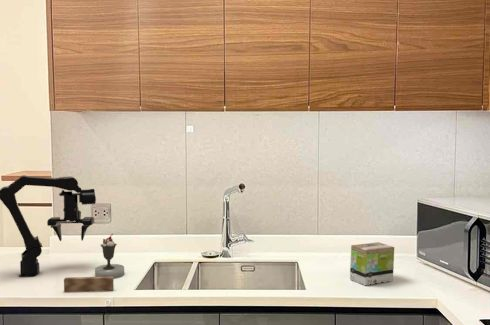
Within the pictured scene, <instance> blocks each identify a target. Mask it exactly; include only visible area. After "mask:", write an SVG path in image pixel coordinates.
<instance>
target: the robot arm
mask: <svg viewBox="0 0 490 325" xmlns="http://www.w3.org/2000/svg"><path fill="white" fill-rule="evenodd" d="M25 186H35V187H47V188H48V187H51V188H56V189H57V188H58V189H62V190H61V192H59V193H58V195H59V196H60V197H63V218H61V217H59V216H53V217H50V218H48V219H47V220H46V221H47V227H50V228H51V229H53V230H54V232H55V234H56V235H57V238H58V240H59V242H62V229H61V228H62V224H82V225H81V228H80V229H81V231H80V232H81V234H80V237H81V242H82V241H84V238H85V235H86V232H87V230H88V228H89V227H90V226H92V225H94V224H95V218H94V216H84V217H83V218H82V211H81V210H79V205H78V204H80V203H81V205H85V206H86V205H95V204H96V202H97V197H96V192H95V189H94V188H89V189H88V188H87V189H82V188H81V187H80V186H79V182H78V180H77V179H76V178H75V177H74V176H62V177H46V176H28V175H24V174H23V175H20V176H19V178H17V179H16V180H15V181H13V182H12V183H10V184H9V185H8V186H5V185H4V186H3V187H1V188H0V201H1V202H2V204H3V205H4V206H5V207H6V208H7V210H8V212H9V213H10V214H11V218H12V219H13V221H14V223H15V225H16V227H17V229H18V231H19V233H20V235H21V237H22V239H23V240H22V241H23V243H24V247H25V250H24V251H23V252H22V253H21V256H20V257H21V260H20V262H19V263H20V265H19V266H20V268H19V269H20V274H19V275H18V277H35V276H37V275H38V274H39V273H40V262H39V259H38V257H40V256H41V254H42V252H43V250H42V248H43V244H42V242H41V241H40V239H39V236H38V235H36V236H34V234H32V231H31V230H30V227H29V225H28V224H27V222H26V219H25V218H24V216H23V215H24V214H23V213H22V212H21V210H20V209H21V208H20V207H19V206H18V205H19V204H18V201H17V198H16V194H17V193H18V192H20V191H21V189H24V187H25ZM73 191H74V192H75V193H74V192H73Z"/></svg>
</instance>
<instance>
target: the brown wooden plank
mask: <svg viewBox="0 0 490 325" xmlns="http://www.w3.org/2000/svg"><path fill="white" fill-rule="evenodd" d="M114 283H115V282H114V279H113V277H95V276H77V277H69V276H68V277H64V279H63V292H64V293H78V292H79V293H80V292H81V293H83V292H84V293H86V292H88V293H89V292H113V291H114V286H115V285H114Z"/></svg>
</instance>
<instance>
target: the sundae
mask: <svg viewBox="0 0 490 325" xmlns="http://www.w3.org/2000/svg"><path fill="white" fill-rule="evenodd" d="M113 235H114V234H113V233H111V234H110V236H109V237H107V238H103V239H102V243H101V244H100V247H101V248H102V254H103V258H104V259H105V260H106V261H107V262H106V263H107V264H106V265H107V266H106V267H103V269H105V270H110V269H114V268H115V267H114V266H111V265H110V264H111V261H112V259H114V256H115V248H116V246H117V245H118V244H117V243H116V242H115V241H114V240H113V238H112V236H113Z"/></svg>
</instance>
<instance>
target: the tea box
mask: <svg viewBox="0 0 490 325" xmlns="http://www.w3.org/2000/svg"><path fill="white" fill-rule="evenodd" d="M394 261H395V247H394V246H393V245H388V244H385V243H382V242H379V241H378V242H369V243H360V244H352V245H351V247H350V263H349V264H350V267H349V268H350V269H349V280H351V281H353V282H355V281H356V282H355V283H357V282H358V283H357V284H359V283H361V284H360V285H362V284H364V285H367V286H370V284H371V285H376V284H375V283H377V284H382V283H381V282H384V283H388V282H387V281H392V282H393V281H394V267H395V266H394V263H395V262H394ZM364 285H363V286H364Z"/></svg>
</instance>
